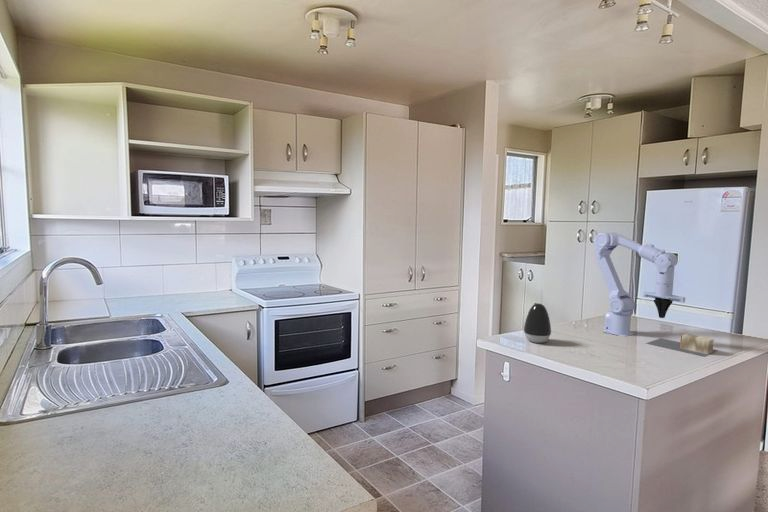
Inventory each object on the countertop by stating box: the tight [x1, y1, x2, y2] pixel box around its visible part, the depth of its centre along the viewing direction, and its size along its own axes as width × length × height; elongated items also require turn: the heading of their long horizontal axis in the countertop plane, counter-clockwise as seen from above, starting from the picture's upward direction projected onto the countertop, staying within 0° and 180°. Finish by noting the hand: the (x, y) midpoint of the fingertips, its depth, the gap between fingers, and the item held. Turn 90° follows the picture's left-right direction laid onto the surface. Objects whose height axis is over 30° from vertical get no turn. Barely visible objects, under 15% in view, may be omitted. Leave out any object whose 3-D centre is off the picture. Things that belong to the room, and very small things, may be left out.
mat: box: [645, 337, 719, 357], centre depth 173 cm, size 20×14×1 cm
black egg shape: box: [523, 302, 552, 344], centre depth 178 cm, size 10×10×15 cm
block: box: [679, 333, 715, 354], centre depth 169 cm, size 5×5×9 cm
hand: (661, 317), depth 178 cm, fingers closed
